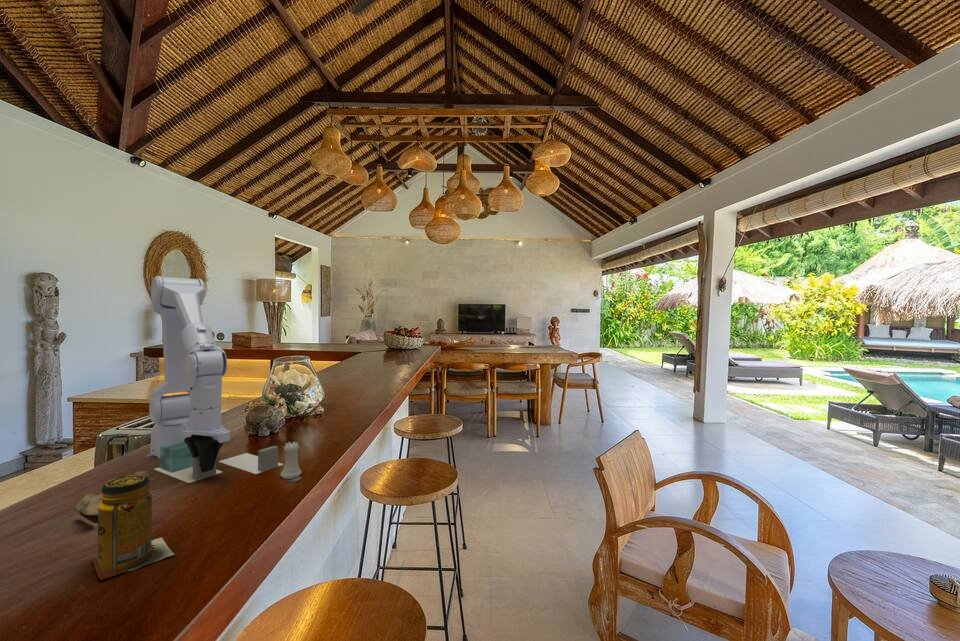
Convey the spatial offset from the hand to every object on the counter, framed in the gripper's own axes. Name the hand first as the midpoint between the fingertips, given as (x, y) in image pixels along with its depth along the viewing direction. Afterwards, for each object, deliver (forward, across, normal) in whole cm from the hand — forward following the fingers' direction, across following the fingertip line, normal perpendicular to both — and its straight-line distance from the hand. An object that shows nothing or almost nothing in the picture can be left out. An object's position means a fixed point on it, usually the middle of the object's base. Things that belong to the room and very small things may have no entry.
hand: (204, 469), depth 90 cm
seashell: (+3, -1, -14) cm, 15 cm away
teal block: (+2, -10, 0) cm, 10 cm away
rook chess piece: (+3, +15, +10) cm, 18 cm away
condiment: (+3, +20, -21) cm, 29 cm away
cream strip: (+2, -6, 0) cm, 7 cm away
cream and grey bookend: (+2, +1, +10) cm, 10 cm away
